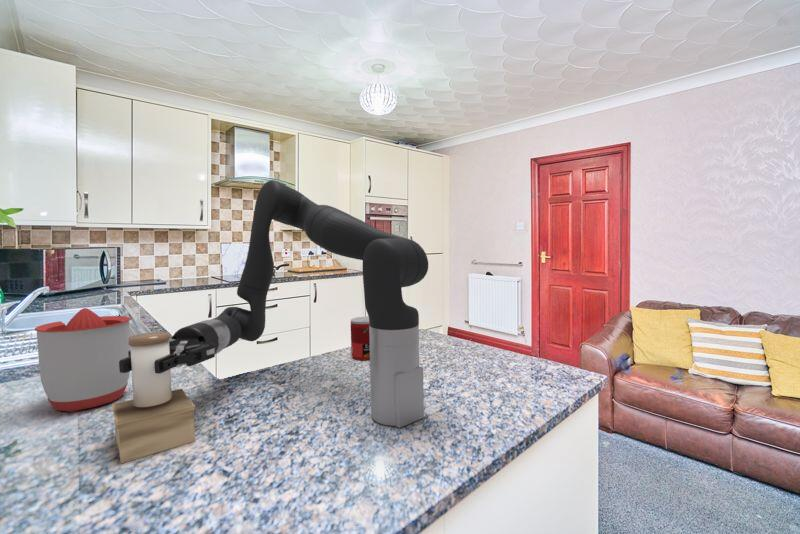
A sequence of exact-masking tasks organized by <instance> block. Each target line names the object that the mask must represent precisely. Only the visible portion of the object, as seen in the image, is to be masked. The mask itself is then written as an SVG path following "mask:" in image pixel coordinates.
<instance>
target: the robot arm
mask: <svg viewBox="0 0 800 534" xmlns="http://www.w3.org/2000/svg"><path fill="white" fill-rule="evenodd" d="M253 211H254V212H253V217H252V223H251V229H250V230H251V231H250V238H249V244H248V250H247V254H246V260H245V263H244V268H243V269H242V274H241V277H240V280H239V283H238V286H237V289H236V295H237V296H238V298H240V299H242V300H245V302H247V303H248V305H249V308H250V310H248V309H245V308H241V307H238V306H229V307H226V308H225V309H223V311H222V312H221V313H220V314H219V315H218V316H216V317H214V318H212V319H206V320H201V321H199V322H195V323H193V324H190V325H187V326H184V327H181V328H179V329H178V330H177V331H175V333H174V334H173V335H172V337H171V338H170V340H169V349H170V354H169V355H167V356H164V357H162V358H159V359H157V360H156V361H155V363H154V365H155V373H163V372H165V371H167V370H169V369H174V368H181V367H183V366H185V365H186V367H193V366H195V365H197V364H200V363H204V362H205V361H208V360H210V359H213V358H215V357H216V355H218V354H219V353H220V352H222V351H223V350H225V349H227V348H228V347H230V346H232V345H234V344H236V342H238V341H239V339H241V340H243V341H248V342H254V341H257V340H258V339H260V338H261V336H262V335H263V333H264V331H265V328H266V307H267V306H266V305H267V295H268V293H269V290H270V289H269V288H270V286H271V283H272V280H273V276H274V270H275V266H274V259H273V253H272V249H271V248H272V247H271V242H270V230H271V224H272V222H273V221H276V222H278V223H281V224H284V225H286V226H289V227H294V228H297V229H299V230H301V231H304V233H305V235H306V236H307V238H308V239H309V240H310V241H311V242H313V243H314V244H315V245H316V246H318V247H320V248H322V249H324V250H325V251H327V252H328V253H329V252H330V253H332V254H333V255H338V256H341V257H345V258H349V259H355V260H359V261H362V280H363V281H362V283H363V296H364V306H365V310H366V313H367V317H369V333H370V360H369V365H370V366H369V372H370V373H369V375H370V376H369V378H370V379H369V380H370V407H371V409H370V414H371V419H372V420H373V421H374V422H376V423H377V424H380V425H384V426H392V427H397V428H398V429H399V428H403V427H405V426H407V425H409V424H412V423H415V422H417V421H420V420H421V419H424V417H425V412H424V411H425V409H424V407H425V406H424V404H425V402H424V399H425V398H424V396H425V395H424V367H423V366H420V327H419V326H420V319H419V318H420V316H419V311H418V310H417V308H416V307H414V306H411V305H408V304H406V302H404V298H403V290H402V288H406V287H408V288H409V287H411V286H414V285H416V284H419V283H420V282H421V281H422V280H424V278H425V277H426V275H427V274H428V271H429V260H428V255H427V253H426V252H425V250H424V248H422V247H423V246H421V245H420V243H418V242H416V241H414V240H413V239H410V238H407V237H403V236H400V235H395V234H392V233H389V232H386V231H384V230H381V229H378V228H377V227H375V226H373V225H371V224H369V223H367V222H365V221H363V220H361V219H359V218H357V217H355V216H352V215H351V214H349V213H347V212H345V211H343V210H341V209H338V208H336V207H334V206H331V205H327V204H317V203H315V202H314V201H313V200H311V199H310V198H308V197H307V196H306V195H304V194H303V193H302V192H300V191H298V190H296V189H294V188H292V187H289V186H287V185H286V184H284V183H283V182H282V183H281V182H279V181H277V180H275V179H273V180H268V181H266V182H265V183H263V185H262V186H261V188H260V189H259V191H258V194H257V196H256V201H255V205H254V210H253ZM272 220H273V221H272ZM119 370H120V373H127V372H129V371H130V372H132V366H131V350H130V351H128V357H127V358H124V359H121V360H120V361H119Z"/></svg>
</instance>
